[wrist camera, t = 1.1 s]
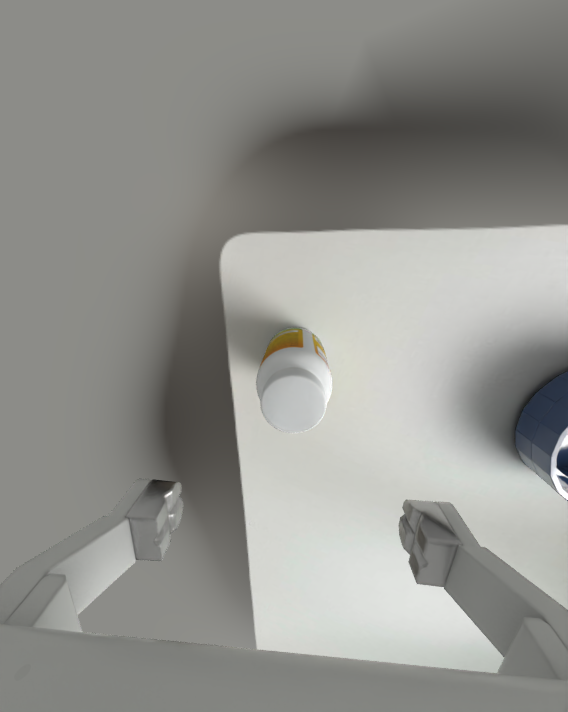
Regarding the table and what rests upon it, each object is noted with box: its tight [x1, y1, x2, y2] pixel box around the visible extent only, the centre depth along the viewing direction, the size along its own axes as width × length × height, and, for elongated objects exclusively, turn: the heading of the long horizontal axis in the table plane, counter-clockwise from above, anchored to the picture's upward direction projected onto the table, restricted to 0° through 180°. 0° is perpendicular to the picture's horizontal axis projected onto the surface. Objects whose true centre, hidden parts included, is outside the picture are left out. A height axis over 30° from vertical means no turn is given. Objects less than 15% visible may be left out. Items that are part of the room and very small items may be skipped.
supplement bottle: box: [256, 328, 332, 433], centre depth 21 cm, size 5×5×10 cm
